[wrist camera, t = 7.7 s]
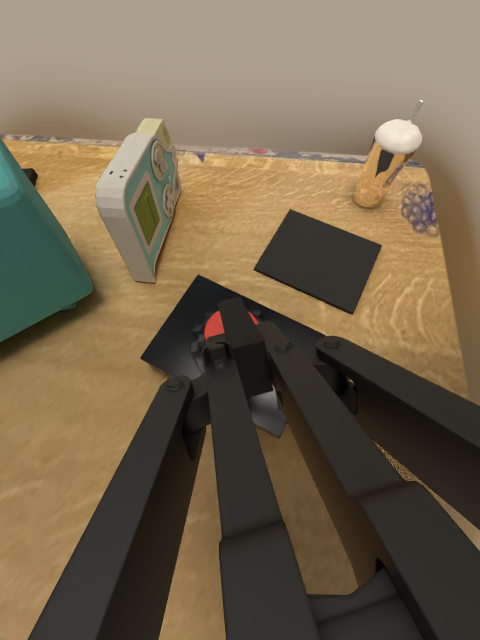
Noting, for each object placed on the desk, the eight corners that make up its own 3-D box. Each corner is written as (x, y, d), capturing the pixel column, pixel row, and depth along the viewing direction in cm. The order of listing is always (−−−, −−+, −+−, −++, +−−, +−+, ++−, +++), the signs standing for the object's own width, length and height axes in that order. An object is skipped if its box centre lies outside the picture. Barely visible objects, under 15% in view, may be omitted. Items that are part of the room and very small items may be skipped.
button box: (317, 345, 28) (332, 328, 23) (275, 437, 25) (282, 439, 20) (202, 289, 31) (194, 264, 26) (150, 365, 27) (132, 352, 23)
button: (267, 332, 24) (270, 321, 21) (243, 376, 22) (243, 369, 20) (223, 310, 25) (221, 298, 22) (198, 351, 23) (193, 343, 21)
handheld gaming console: (187, 200, 38) (157, 284, 31) (167, 198, 39) (133, 281, 31) (170, 108, 29) (120, 196, 21) (144, 106, 29) (86, 193, 21)
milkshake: (392, 192, 36) (443, 109, 27) (373, 217, 34) (422, 138, 25) (361, 177, 37) (400, 92, 28) (342, 201, 35) (376, 120, 26)
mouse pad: (380, 247, 33) (382, 245, 32) (352, 314, 29) (353, 313, 29) (289, 211, 35) (290, 209, 34) (253, 269, 32) (254, 268, 31)
